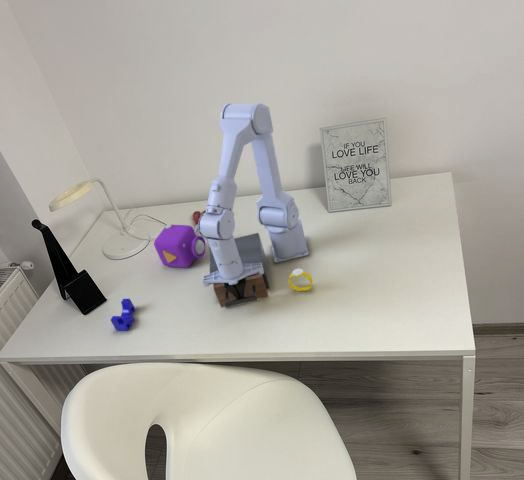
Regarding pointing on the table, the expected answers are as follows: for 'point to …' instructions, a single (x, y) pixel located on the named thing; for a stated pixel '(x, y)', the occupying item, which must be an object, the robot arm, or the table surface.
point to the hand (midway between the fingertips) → (241, 300)
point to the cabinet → (247, 254)
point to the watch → (299, 273)
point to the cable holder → (124, 316)
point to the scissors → (197, 218)
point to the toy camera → (179, 245)
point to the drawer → (251, 293)
